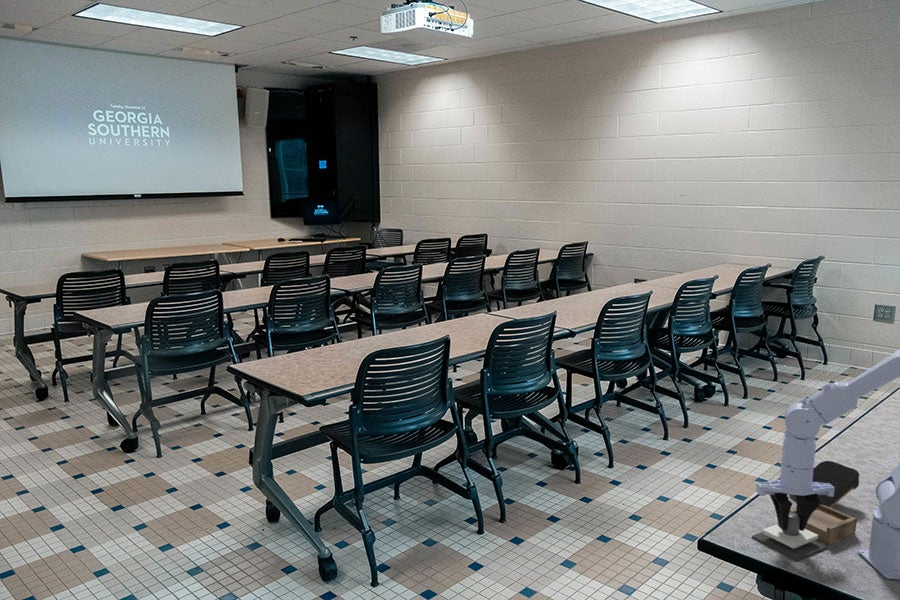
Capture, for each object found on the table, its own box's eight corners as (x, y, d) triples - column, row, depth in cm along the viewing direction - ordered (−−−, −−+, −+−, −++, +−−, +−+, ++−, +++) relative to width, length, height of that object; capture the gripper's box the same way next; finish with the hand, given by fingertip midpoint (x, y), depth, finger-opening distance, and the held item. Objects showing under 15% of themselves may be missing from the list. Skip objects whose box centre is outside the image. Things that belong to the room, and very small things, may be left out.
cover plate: (786, 524, 142) (788, 504, 142) (818, 538, 136) (820, 518, 136) (762, 533, 138) (764, 513, 138) (793, 548, 133) (795, 528, 132)
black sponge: (825, 471, 161) (825, 458, 160) (862, 485, 155) (862, 471, 153) (785, 503, 154) (784, 489, 152) (822, 519, 147) (822, 504, 145)
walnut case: (813, 515, 149) (815, 500, 148) (855, 534, 141) (856, 518, 141) (787, 525, 144) (789, 510, 144) (829, 545, 137) (830, 528, 136)
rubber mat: (782, 525, 144) (782, 524, 144) (828, 547, 136) (828, 545, 136) (751, 537, 140) (751, 535, 139) (797, 560, 131) (797, 559, 131)
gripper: (823, 456, 139) (816, 518, 141) (751, 455, 139) (746, 518, 141) (843, 470, 132) (835, 536, 134) (767, 470, 132) (761, 535, 134)
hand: (791, 528), depth 137 cm, fingers closed on cover plate, 3 cm apart
